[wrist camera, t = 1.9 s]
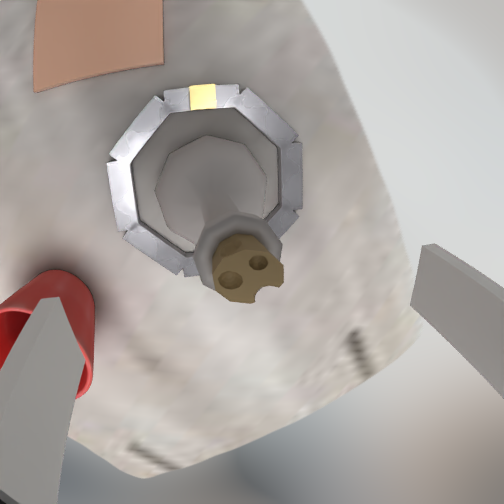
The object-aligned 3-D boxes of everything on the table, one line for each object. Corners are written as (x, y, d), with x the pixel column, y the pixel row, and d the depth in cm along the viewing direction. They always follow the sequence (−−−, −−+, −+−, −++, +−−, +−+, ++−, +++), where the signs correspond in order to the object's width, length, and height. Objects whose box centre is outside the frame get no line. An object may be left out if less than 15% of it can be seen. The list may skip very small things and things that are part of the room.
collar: (103, 101, 22) (96, 100, 20) (296, 85, 25) (305, 83, 23) (131, 279, 29) (128, 290, 27) (298, 256, 32) (305, 265, 30)
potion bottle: (275, 179, 28) (393, 265, 12) (209, 247, 30) (247, 396, 14) (206, 112, 24) (252, 96, 8) (137, 188, 26) (77, 297, 10)
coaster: (42, -15, 15) (40, -18, 14) (163, -44, 17) (163, -48, 16) (37, 92, 20) (33, 92, 19) (163, 64, 22) (163, 62, 21)
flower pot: (19, 244, 25) (-28, 292, 16) (114, 268, 28) (93, 329, 20) (22, 325, 28) (-7, 383, 20) (106, 348, 32) (93, 413, 23)
